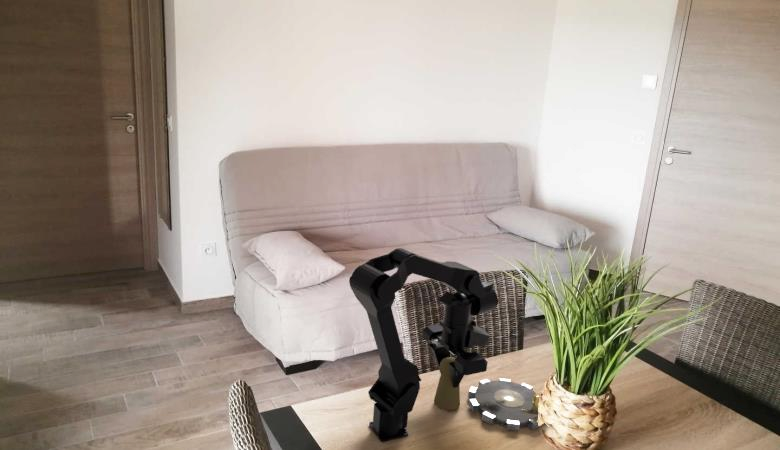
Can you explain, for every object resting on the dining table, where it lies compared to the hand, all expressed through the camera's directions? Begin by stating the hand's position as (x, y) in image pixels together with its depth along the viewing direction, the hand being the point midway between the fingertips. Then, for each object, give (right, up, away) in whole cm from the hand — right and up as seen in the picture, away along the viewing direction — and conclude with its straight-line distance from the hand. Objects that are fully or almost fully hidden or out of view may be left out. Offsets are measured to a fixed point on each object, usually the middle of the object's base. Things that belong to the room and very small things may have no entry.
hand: (449, 381), depth 133 cm
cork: (0, -5, +2) cm, 6 cm away
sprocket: (+14, -7, +2) cm, 16 cm away
